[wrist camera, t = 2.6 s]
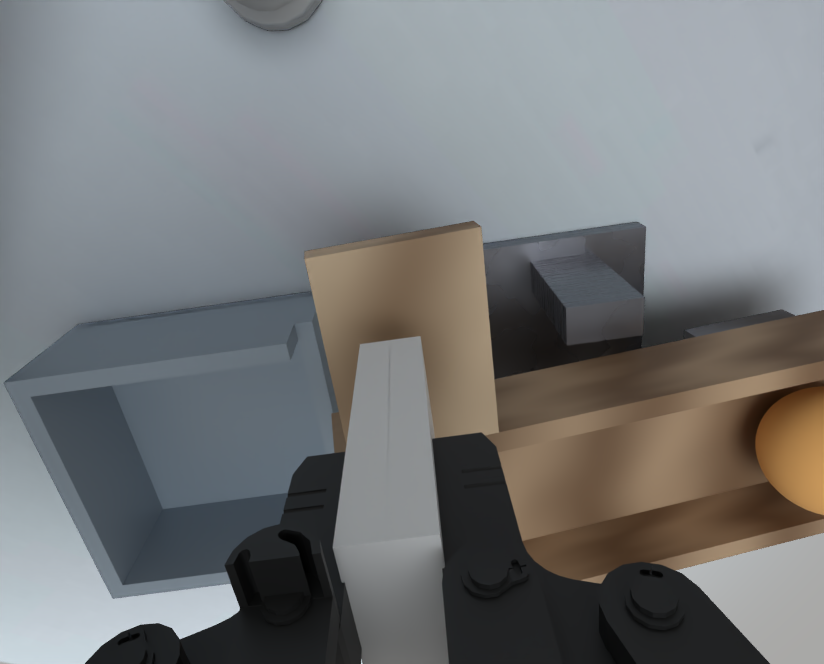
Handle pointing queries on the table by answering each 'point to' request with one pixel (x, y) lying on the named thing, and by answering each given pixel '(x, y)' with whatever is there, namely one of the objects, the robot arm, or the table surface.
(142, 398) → the bin
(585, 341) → the stand
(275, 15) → the rook chess piece
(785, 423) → the ball
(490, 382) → the chute
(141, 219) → the table surface
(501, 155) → the table surface
